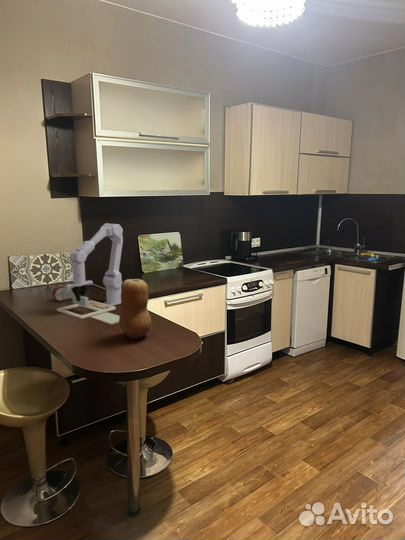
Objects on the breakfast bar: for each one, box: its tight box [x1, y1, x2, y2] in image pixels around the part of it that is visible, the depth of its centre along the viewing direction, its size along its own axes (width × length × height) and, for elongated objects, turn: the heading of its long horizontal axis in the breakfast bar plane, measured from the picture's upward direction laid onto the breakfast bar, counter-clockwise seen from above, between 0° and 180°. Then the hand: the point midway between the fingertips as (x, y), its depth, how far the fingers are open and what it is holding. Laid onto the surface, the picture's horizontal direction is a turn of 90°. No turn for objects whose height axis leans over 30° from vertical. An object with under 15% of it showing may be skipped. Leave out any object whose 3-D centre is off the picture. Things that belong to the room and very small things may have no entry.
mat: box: [90, 311, 120, 325], centre depth 194 cm, size 10×16×1 cm, turn 51°
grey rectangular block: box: [71, 295, 90, 308], centre depth 204 cm, size 2×11×4 cm, turn 51°
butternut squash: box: [118, 278, 152, 340], centre depth 167 cm, size 14×13×25 cm
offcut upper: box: [89, 303, 106, 310], centre depth 212 cm, size 4×10×1 cm, turn 49°
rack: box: [56, 299, 116, 319], centre depth 208 cm, size 21×21×2 cm
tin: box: [51, 283, 74, 302], centre depth 228 cm, size 15×3×8 cm, turn 141°
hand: (80, 300), depth 204 cm, fingers closed on grey rectangular block, 2 cm apart
